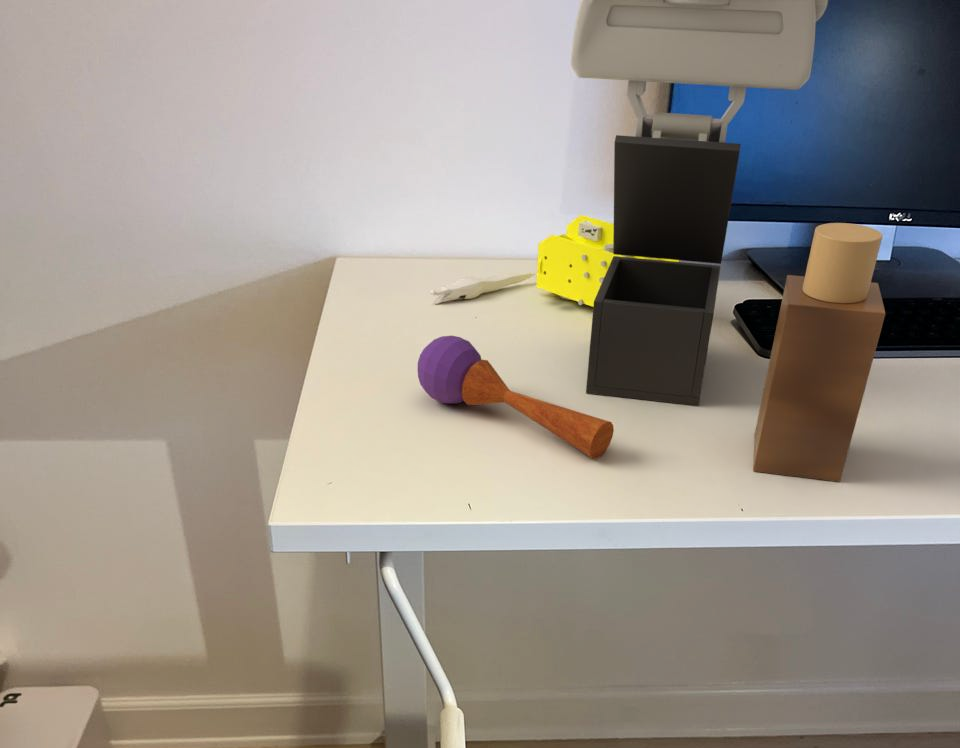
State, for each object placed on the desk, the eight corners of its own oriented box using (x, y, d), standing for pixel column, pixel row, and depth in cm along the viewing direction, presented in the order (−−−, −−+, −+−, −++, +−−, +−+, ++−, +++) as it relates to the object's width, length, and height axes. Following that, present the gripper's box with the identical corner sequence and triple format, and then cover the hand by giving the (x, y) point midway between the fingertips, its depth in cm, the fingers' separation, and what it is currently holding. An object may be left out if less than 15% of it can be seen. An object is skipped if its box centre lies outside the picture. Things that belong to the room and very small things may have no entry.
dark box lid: (739, 151, 83) (747, 101, 85) (614, 142, 85) (624, 93, 87) (720, 264, 97) (728, 219, 98) (613, 254, 99) (621, 211, 100)
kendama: (581, 428, 79) (400, 345, 88) (579, 486, 84) (407, 401, 93) (624, 393, 82) (445, 315, 91) (620, 451, 87) (449, 371, 96)
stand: (836, 444, 87) (878, 282, 78) (839, 482, 81) (885, 313, 73) (754, 434, 88) (787, 274, 79) (752, 471, 82) (787, 303, 74)
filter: (864, 285, 77) (880, 225, 75) (869, 306, 74) (885, 243, 71) (801, 280, 78) (814, 220, 75) (802, 300, 74) (816, 238, 72)
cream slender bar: (437, 308, 112) (437, 291, 110) (424, 301, 113) (424, 284, 112) (541, 284, 119) (542, 268, 117) (528, 278, 120) (529, 262, 119)
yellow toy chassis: (674, 320, 110) (685, 242, 105) (642, 332, 107) (651, 253, 102) (566, 284, 119) (571, 210, 114) (534, 294, 116) (537, 219, 111)
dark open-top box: (698, 406, 92) (713, 312, 87) (585, 393, 94) (593, 300, 89) (706, 352, 103) (720, 265, 97) (605, 341, 105) (613, 255, 99)
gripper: (834, -46, 81) (798, 141, 89) (585, -54, 84) (573, 126, 93) (839, -42, 76) (800, 156, 84) (574, -51, 79) (562, 140, 88)
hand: (679, 140), depth 88 cm, fingers closed on dark box lid, 5 cm apart
